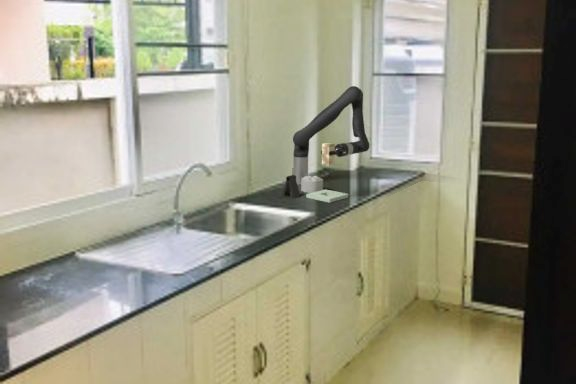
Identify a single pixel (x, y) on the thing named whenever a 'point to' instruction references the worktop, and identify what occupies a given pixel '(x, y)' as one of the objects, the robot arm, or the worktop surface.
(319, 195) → the pocket frame
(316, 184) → the lumpy-topped squat cylinder
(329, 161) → the birch block
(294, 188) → the phone stand
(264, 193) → the worktop surface
